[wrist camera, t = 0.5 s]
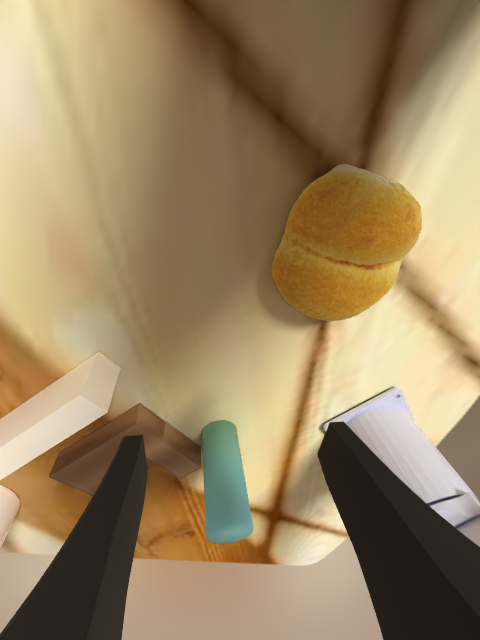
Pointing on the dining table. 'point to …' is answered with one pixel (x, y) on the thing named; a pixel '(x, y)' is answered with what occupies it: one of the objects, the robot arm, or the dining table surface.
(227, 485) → the dowel
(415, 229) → the bread roll
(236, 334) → the dining table surface
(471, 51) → the dining table surface
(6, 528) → the pill bottle
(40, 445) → the board
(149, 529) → the dining table surface
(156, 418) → the block
